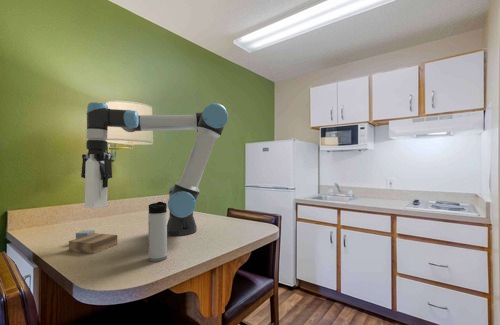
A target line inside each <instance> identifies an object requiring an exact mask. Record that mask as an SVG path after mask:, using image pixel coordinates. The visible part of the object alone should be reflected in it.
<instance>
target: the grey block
mask: <svg viewBox="0 0 500 325" xmlns="http://www.w3.org/2000/svg"><path fill="white" fill-rule="evenodd" d="M94 233H96V231H95V229H93V230H92V229H90V230H89V229H87V230H86V229H84V230H81V231H78V232H75V239H78V238H81V237H84V236H88V235H91V234H94Z"/></svg>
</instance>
